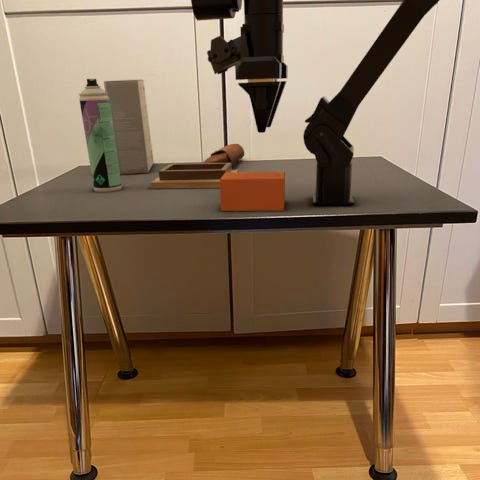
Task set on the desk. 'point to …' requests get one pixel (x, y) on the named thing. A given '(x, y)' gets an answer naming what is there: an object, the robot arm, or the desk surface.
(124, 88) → the hard drive box
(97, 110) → the spray can
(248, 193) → the orange rectangular block
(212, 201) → the desk surface
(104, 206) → the desk surface
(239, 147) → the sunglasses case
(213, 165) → the wooden tray
